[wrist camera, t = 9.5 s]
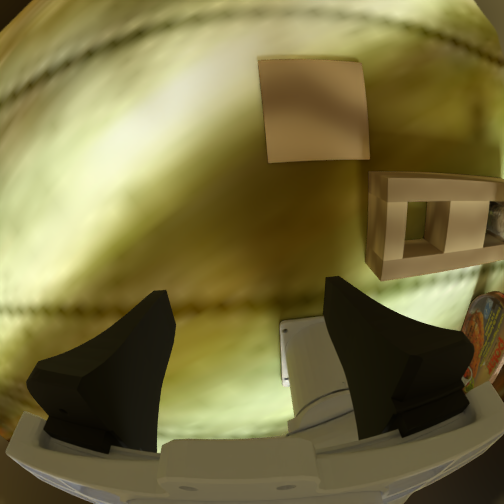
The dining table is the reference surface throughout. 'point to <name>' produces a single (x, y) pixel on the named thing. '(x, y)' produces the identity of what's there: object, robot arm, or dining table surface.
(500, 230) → the pin
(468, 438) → the robot arm
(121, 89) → the dining table surface
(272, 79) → the cork coaster
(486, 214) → the wooden rectangular frame
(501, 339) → the tin
